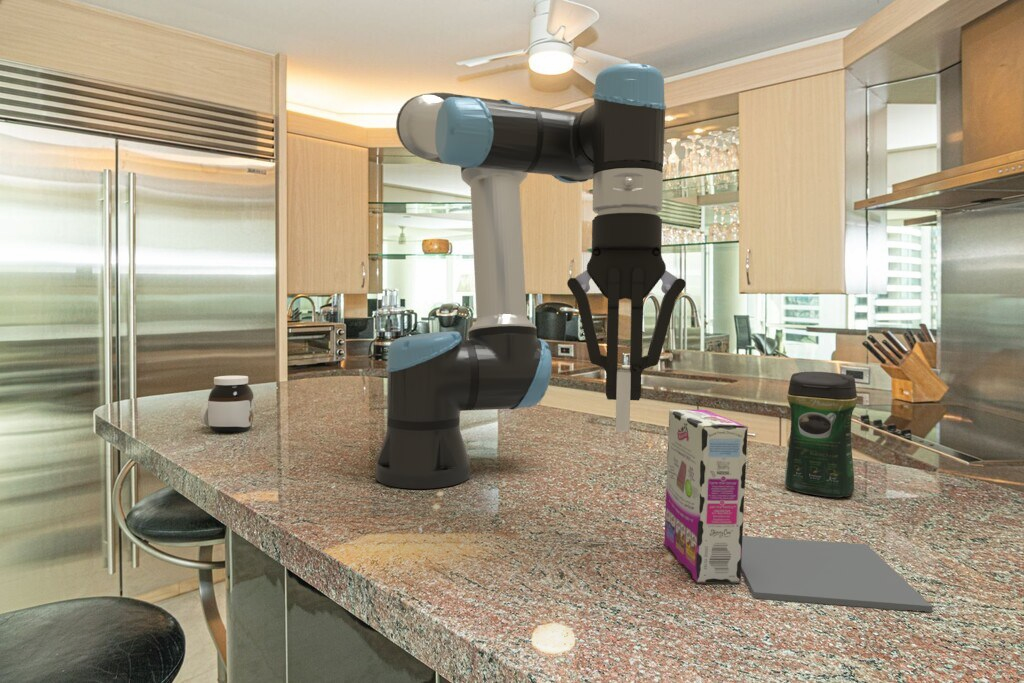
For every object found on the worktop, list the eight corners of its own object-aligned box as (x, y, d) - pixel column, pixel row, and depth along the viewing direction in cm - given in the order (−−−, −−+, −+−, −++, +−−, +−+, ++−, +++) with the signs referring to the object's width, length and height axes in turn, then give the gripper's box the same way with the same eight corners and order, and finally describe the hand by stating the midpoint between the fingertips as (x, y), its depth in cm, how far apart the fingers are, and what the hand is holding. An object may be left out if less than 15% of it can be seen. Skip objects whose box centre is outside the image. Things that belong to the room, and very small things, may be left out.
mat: (753, 598, 63) (754, 592, 63) (725, 539, 79) (725, 534, 79) (932, 612, 61) (932, 606, 61) (866, 549, 77) (866, 544, 77)
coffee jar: (857, 491, 101) (863, 372, 100) (847, 503, 95) (852, 376, 94) (792, 480, 107) (797, 368, 106) (778, 490, 101) (782, 371, 100)
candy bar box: (744, 584, 66) (750, 425, 65) (697, 585, 66) (702, 425, 65) (703, 544, 77) (707, 407, 77) (662, 544, 77) (666, 407, 76)
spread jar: (239, 435, 135) (238, 380, 134) (185, 434, 135) (184, 379, 135) (262, 425, 147) (261, 373, 146) (212, 424, 147) (212, 373, 147)
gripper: (564, 210, 68) (561, 433, 69) (692, 209, 66) (686, 438, 67) (569, 220, 76) (566, 421, 77) (684, 219, 74) (679, 425, 75)
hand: (622, 429), depth 72 cm, fingers closed
